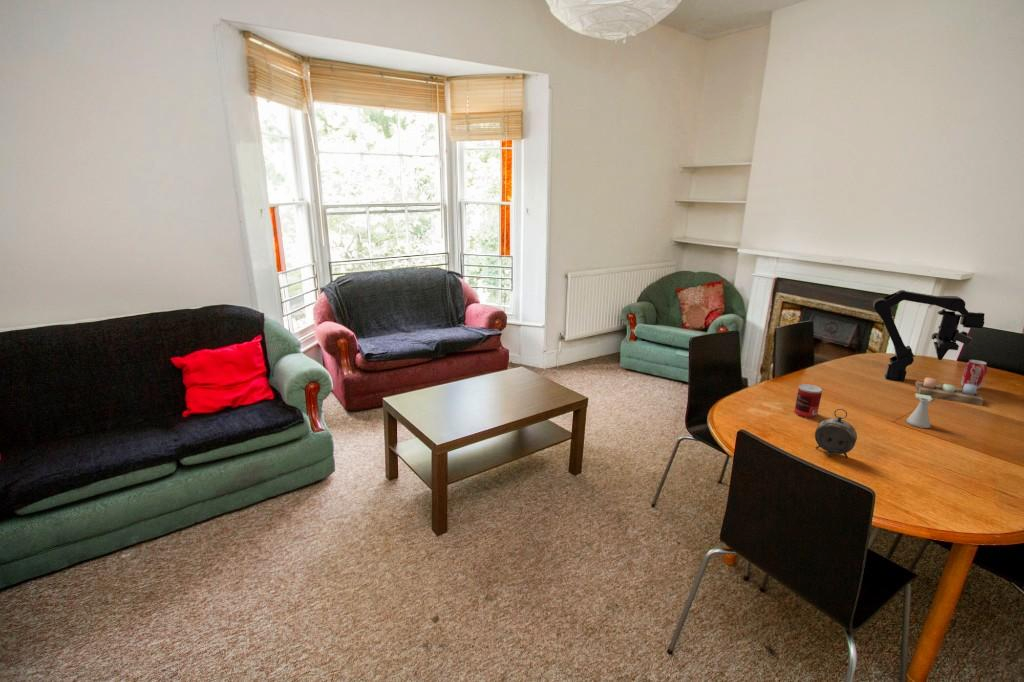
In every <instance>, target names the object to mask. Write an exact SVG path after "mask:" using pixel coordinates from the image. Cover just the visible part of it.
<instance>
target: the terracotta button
mask: <svg viewBox="0 0 1024 682" xmlns="http://www.w3.org/2000/svg"><path fill="white" fill-rule="evenodd" d="M937 381H938V380H937V379H936V378H932V377H924V380H923V382H924V383H923V387H924V388H930V389H935V386H936V384H937Z"/></svg>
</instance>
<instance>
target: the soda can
mask: <svg viewBox="0 0 1024 682" xmlns="http://www.w3.org/2000/svg"><path fill="white" fill-rule="evenodd" d="M987 364H988V363H987V362H986V361H983V360H978V359H968V362H966V363H965V366H964V370H963V373H962V376H961V381H960V385H962V388H963V387H964V384H973V385H976V386H977V390H979V389H981V388H982V387H983V385H984V381H985V379H986V374H987V371H988V365H987Z"/></svg>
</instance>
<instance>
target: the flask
mask: <svg viewBox="0 0 1024 682" xmlns="http://www.w3.org/2000/svg"><path fill="white" fill-rule="evenodd" d="M930 403H931V401H930V400H929V399H926V398H920V399H919V403H918V404H917V407H916V408H915V409H914V410H913V412H912V413H911V414H910V415H909V417H907V418H906V423H907V424H909V425H911V426H913V427H916V428H921V429H931V421H930V417H929V404H930Z"/></svg>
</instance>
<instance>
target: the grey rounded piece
mask: <svg viewBox="0 0 1024 682" xmlns="http://www.w3.org/2000/svg"><path fill="white" fill-rule="evenodd" d="M962 388H963V391H962V393H963V394H967V395H974V396H975V393H976V391H977V390H978V389H977V386H976V385H973V384H964V387H963V386H962Z"/></svg>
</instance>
